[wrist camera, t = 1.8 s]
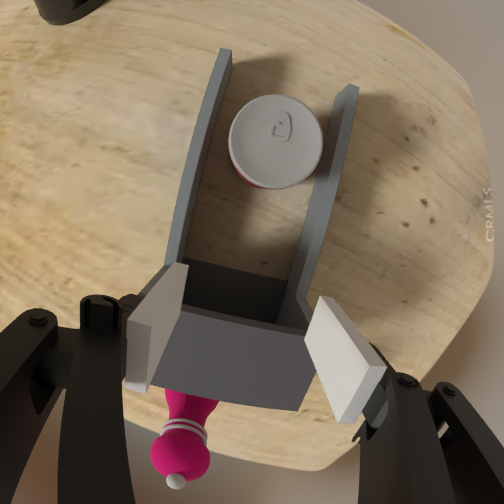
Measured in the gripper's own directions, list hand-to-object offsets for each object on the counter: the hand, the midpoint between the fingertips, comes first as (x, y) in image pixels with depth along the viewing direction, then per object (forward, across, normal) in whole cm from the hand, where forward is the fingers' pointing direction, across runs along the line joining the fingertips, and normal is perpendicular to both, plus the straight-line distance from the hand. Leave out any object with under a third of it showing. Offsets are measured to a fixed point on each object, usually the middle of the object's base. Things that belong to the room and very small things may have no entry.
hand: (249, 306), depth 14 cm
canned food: (+20, 0, +10) cm, 23 cm away
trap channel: (+20, 0, +4) cm, 20 cm away
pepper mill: (+20, -2, -20) cm, 29 cm away
